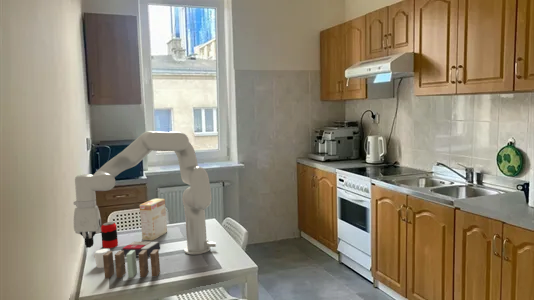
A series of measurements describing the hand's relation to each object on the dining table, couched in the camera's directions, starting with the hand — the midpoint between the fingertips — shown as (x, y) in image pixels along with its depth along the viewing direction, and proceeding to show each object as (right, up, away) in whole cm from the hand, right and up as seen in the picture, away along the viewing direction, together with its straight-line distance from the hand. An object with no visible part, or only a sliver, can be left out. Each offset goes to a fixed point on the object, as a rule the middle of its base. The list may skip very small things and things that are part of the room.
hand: (89, 246), depth 175 cm
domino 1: (+8, -13, +1) cm, 15 cm away
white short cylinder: (0, -12, +14) cm, 18 cm away
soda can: (-7, -10, +41) cm, 42 cm away
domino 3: (+18, -12, +1) cm, 22 cm away
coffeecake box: (+13, -7, +55) cm, 57 cm away
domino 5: (+28, -12, +1) cm, 30 cm away
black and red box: (+13, -10, +30) cm, 34 cm away
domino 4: (+23, -12, +1) cm, 26 cm away
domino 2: (+13, -13, +1) cm, 18 cm away
